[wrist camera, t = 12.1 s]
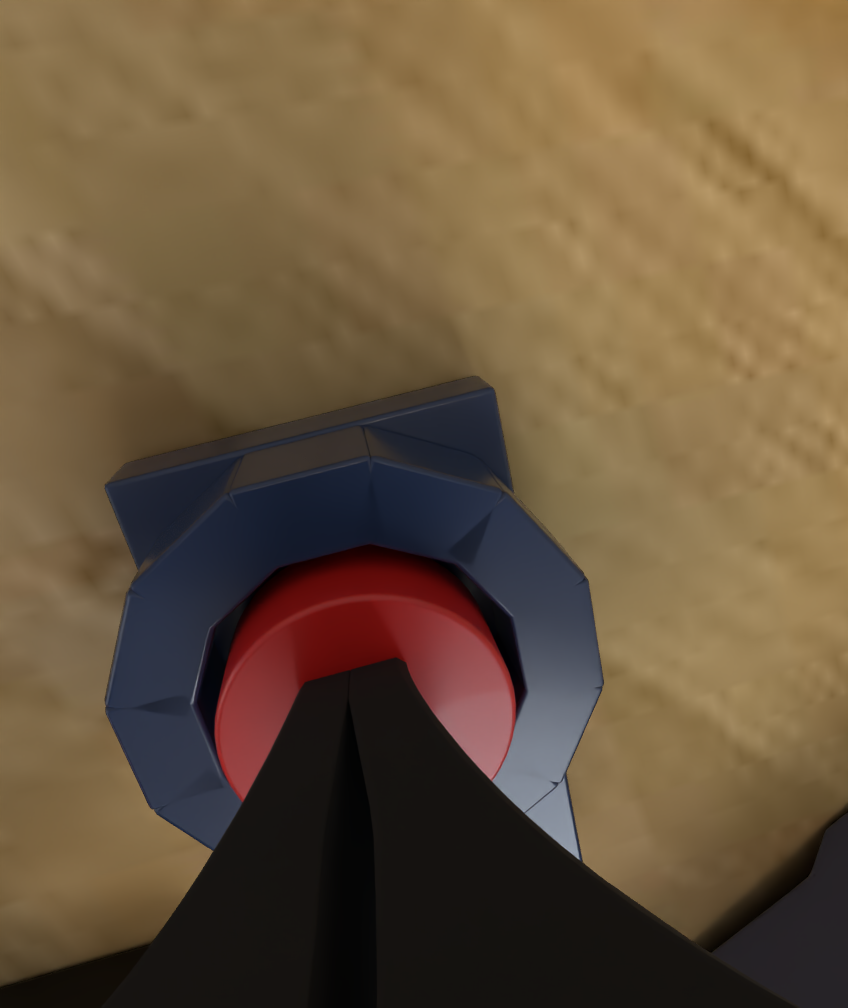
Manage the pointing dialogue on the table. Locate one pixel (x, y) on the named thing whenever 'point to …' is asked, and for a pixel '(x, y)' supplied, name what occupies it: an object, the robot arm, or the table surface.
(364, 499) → the control block
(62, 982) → the bracket
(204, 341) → the table surface
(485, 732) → the button
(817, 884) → the calculator
